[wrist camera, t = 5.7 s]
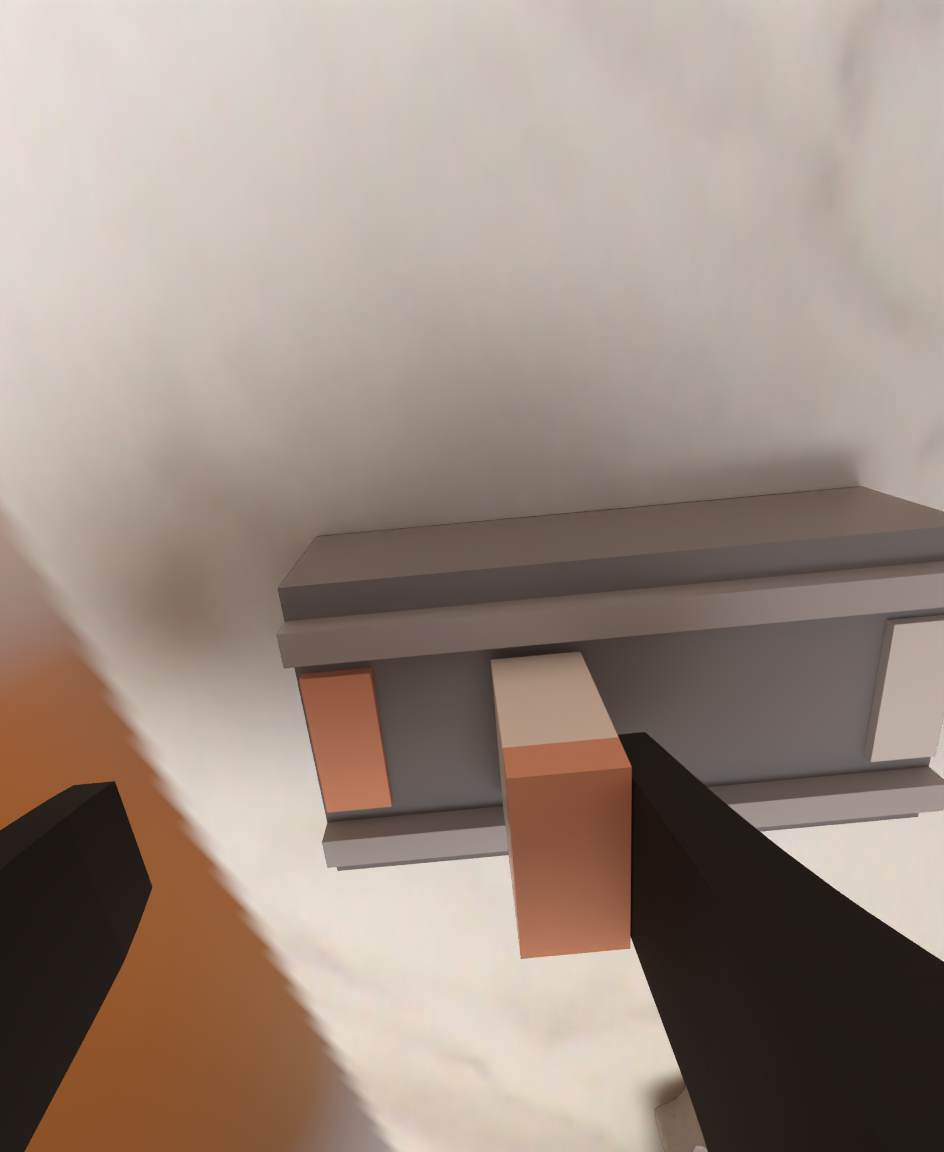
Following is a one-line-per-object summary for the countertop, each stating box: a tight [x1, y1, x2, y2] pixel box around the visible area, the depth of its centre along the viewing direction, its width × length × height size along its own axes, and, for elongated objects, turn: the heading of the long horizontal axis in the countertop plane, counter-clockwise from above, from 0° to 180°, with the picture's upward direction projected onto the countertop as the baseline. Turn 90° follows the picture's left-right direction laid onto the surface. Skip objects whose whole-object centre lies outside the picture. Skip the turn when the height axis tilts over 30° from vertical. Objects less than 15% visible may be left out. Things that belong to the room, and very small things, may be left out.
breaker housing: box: [277, 487, 944, 871], centre depth 12 cm, size 12×6×4 cm, turn 95°
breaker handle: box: [491, 652, 632, 959], centre depth 9 cm, size 2×3×3 cm, turn 5°
